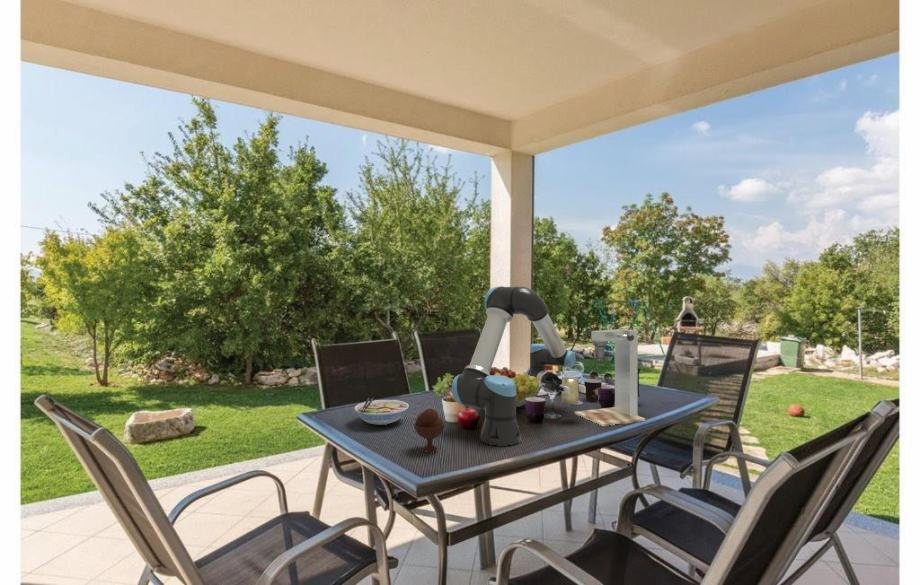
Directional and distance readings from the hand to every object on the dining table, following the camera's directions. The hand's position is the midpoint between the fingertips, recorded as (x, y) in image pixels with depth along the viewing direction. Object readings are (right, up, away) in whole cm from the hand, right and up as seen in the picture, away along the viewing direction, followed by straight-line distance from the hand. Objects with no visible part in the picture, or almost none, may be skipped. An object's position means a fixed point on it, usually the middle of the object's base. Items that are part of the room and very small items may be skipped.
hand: (576, 390), depth 192 cm
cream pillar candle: (-2, -6, +5) cm, 8 cm away
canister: (+34, -14, +33) cm, 49 cm away
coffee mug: (+17, -14, +41) cm, 47 cm away
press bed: (+17, -14, +12) cm, 25 cm away
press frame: (+20, -13, +9) cm, 25 cm away
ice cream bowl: (-59, -15, -28) cm, 67 cm away
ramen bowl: (-81, -15, +5) cm, 83 cm away
